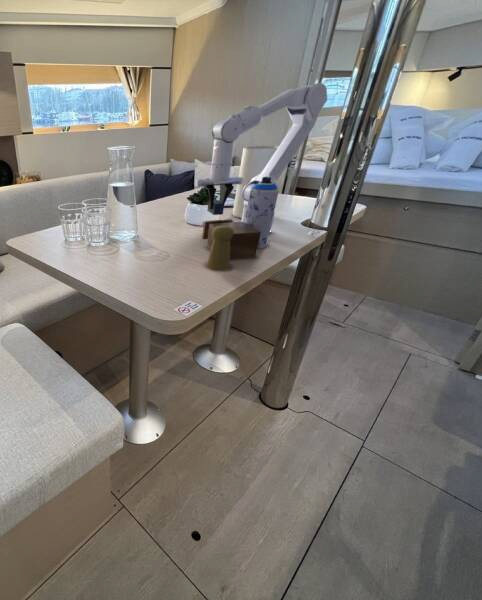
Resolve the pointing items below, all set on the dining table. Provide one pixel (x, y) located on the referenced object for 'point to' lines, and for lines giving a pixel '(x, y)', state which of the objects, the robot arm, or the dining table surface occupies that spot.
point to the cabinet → (239, 240)
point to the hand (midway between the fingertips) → (215, 208)
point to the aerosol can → (262, 208)
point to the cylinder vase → (251, 170)
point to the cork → (220, 248)
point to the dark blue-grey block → (217, 208)
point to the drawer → (207, 226)
